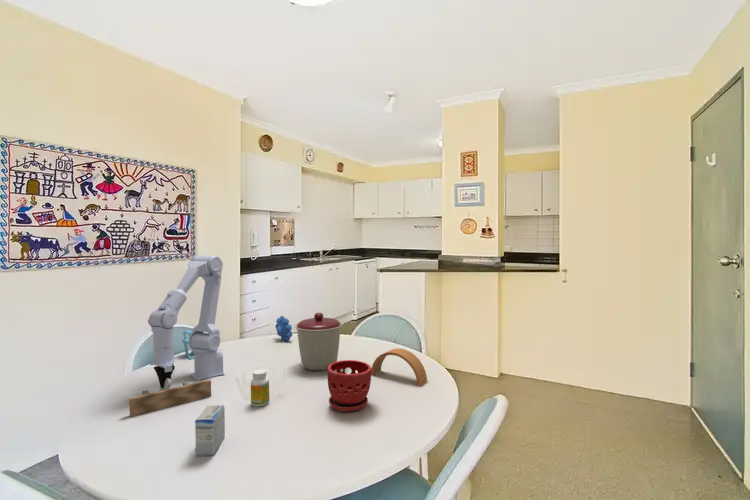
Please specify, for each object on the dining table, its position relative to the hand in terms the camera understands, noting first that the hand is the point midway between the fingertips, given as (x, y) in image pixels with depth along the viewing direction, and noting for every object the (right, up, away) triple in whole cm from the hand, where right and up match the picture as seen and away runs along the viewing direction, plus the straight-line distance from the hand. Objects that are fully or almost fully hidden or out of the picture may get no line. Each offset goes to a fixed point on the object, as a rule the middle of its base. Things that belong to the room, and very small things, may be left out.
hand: (164, 387), depth 126 cm
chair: (-9, -1, +40) cm, 41 cm away
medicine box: (+29, -3, -32) cm, 43 cm away
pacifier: (+2, -2, -4) cm, 5 cm away
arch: (+77, -1, +12) cm, 78 cm away
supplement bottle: (+33, -2, -8) cm, 34 cm away
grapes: (+23, 0, +62) cm, 66 cm away
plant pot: (+61, -2, -10) cm, 62 cm away
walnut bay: (+4, -2, -4) cm, 6 cm away
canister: (+47, -1, +25) cm, 53 cm away
